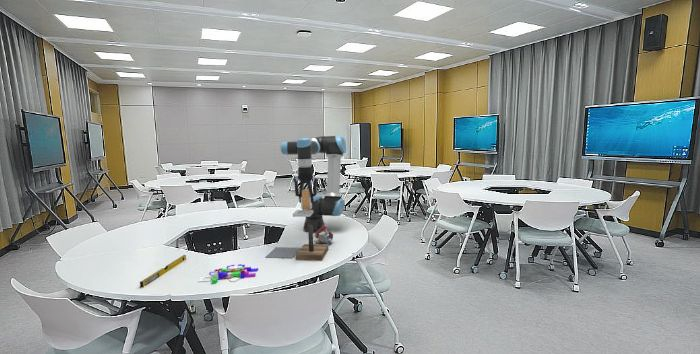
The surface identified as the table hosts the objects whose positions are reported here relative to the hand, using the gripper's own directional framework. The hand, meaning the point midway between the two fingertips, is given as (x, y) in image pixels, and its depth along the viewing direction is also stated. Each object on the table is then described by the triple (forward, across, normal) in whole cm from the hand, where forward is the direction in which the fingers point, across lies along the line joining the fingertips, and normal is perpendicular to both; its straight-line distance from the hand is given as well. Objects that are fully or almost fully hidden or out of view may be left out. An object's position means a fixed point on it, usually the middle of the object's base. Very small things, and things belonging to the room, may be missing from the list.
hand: (306, 208), depth 188 cm
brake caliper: (+25, +6, +13) cm, 29 cm away
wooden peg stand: (+24, +4, -6) cm, 25 cm away
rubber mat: (+24, -13, -4) cm, 28 cm away
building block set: (+25, -30, -34) cm, 52 cm away
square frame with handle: (+2, 0, -6) cm, 6 cm away
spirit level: (+25, -63, -34) cm, 76 cm away
